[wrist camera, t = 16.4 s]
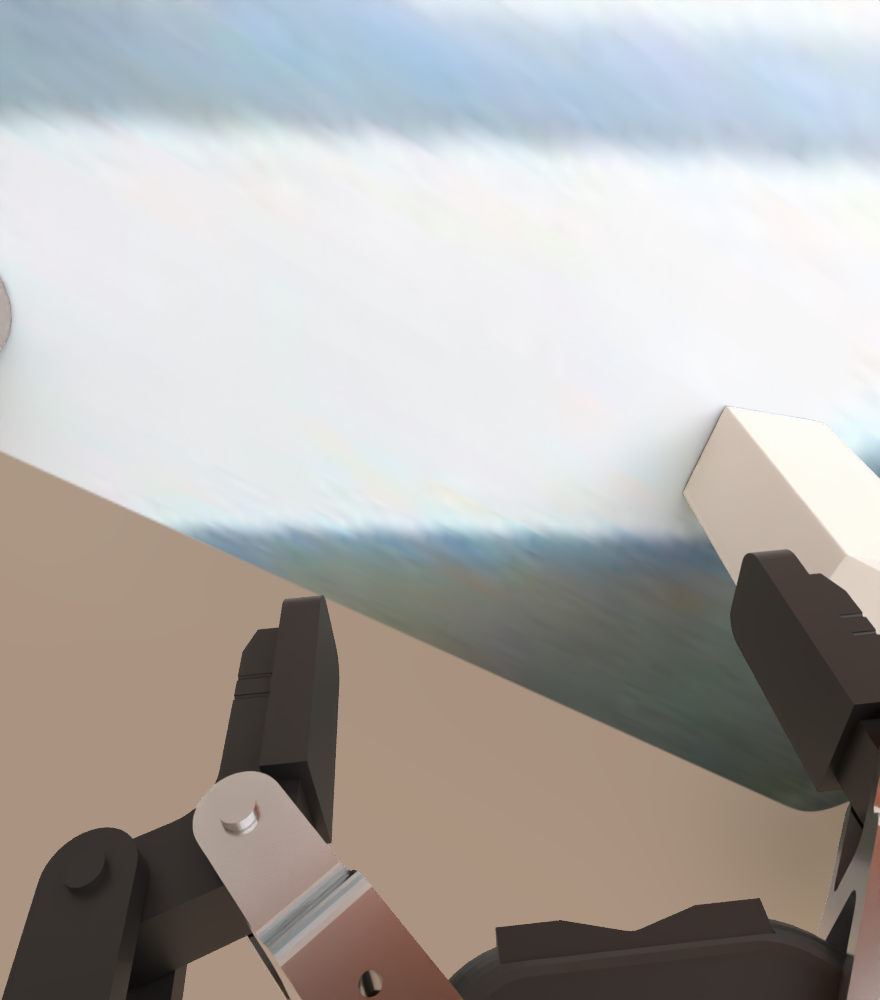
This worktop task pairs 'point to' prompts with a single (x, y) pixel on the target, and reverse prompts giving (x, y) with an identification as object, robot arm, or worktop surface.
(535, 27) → the worktop surface
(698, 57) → the worktop surface
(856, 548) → the milk carton
